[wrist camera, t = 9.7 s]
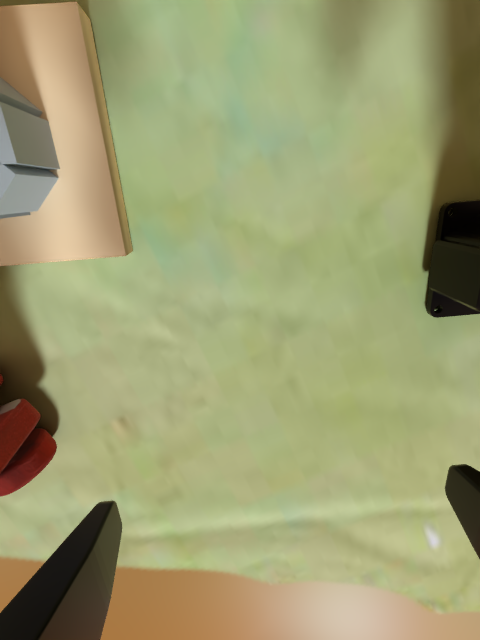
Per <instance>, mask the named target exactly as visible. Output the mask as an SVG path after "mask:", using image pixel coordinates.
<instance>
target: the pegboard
mask: <svg viewBox="0 0 480 640" xmlns="http://www.w3.org/2000/svg"><path fill="white" fill-rule="evenodd" d="M0 77H1V78H2V79H4V80H5V81H6V82H7V83H8V84H10V85H11V86H12V87H13V88H14V89H16V90H17V91H18V92H19V93H20V94H22V95H23V96H24V97H25V98H26V99H28V100H29V101H30V102H31V103H32V104H34V105H35V106H36V107H37V108H38V109H40V110H41V111H42V114H41V116H40V117H39V118H42V119H44V120H46V121H48V122H49V126H50V130H51V134H52V138H53V142H54V146H55V150H56V155H57V159H58V163H59V167H60V169H55V170H49V171H51V172H52V173H53V174H55V175H56V176H57V177H58V178H59V179H58V180H57V182H56V183H55V185H54V186H53V188H52V189H51V191H50V193H49V194H48V196H47V197H46V199H45V200H44V202H43V203H42V205H41V207H40V208H39V210H38V211H33V212H30V214H31V215H26V216H18V217H10V218H2V219H0V266H7V265H20V264H32V263H44V262H57V261H69V260H81V259H94V258H106V257H118V256H126V255H128V254H129V253H131V252H132V251H133V248H132V243H131V237H130V232H129V227H128V221H127V216H126V210H125V205H124V200H123V194H122V189H121V183H120V178H119V172H118V167H117V162H116V156H115V151H114V145H113V140H112V135H111V129H110V124H109V118H108V113H107V108H106V102H105V97H104V91H103V86H102V80H101V75H100V70H99V64H98V59H97V53H96V48H95V43H94V37H93V32H92V26H91V21H90V19H89V18H88V16H87V15H86V13H85V12H84V11H83V9H82V8H81V7H80V5H79V4H78V3H77V2H64V3H47V4H30V5H13V6H0Z"/></svg>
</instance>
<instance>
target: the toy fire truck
mask: <svg viewBox="0 0 480 640" xmlns="http://www.w3.org/2000/svg"><path fill="white" fill-rule="evenodd" d="M2 382H3V377H2V375H1V374H0V385H1V384H2ZM40 417H41V415H40V413H39V412H38V411H37V410H36V409H35V408H34V407H33V406H32V405H31V404H30V403H29V402H28V401H27V400H26V399H17V400H14V401H12V402H10V403H7V404H5V405H3V406H0V496H4V495H8V494H10V493H12V492H15V491H16V490H18V489H20V488H21V487H23V486H24V485H26V484H27V483H29V482H30V481H31V480H32V479H33V478H34V477H36V476H37V475H38V474H39V473H40V472H41V471H42V470H43V469H44V468H45V467H46V466H47V465H48V463H49V462H50V461H51V460H52V458H53V456H54V455H55V452H56V449H57V445H56V442H55V440H54V439H53V438H52V437H51V435H50V434H49V433H48V432H47V431H46V430H45V429H42V428H38V429H34V428H35V426H36V424H37V423H38V421H39V420H40Z"/></svg>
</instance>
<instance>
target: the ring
mask: <svg viewBox="0 0 480 640" xmlns="http://www.w3.org/2000/svg"><path fill="white" fill-rule="evenodd" d="M41 114H42V111H41V110H40V109H38V108H37V107H36V106H35V105H34V104H32V103H31V102H30V101H29V100H28V99H26V98H25V97H24V96H23V95H22V94H20V93H19V92H18V91H17V90H16V89H14V88H13V87H12V86H11V85H10V84H8V83H7V82H6V81H5V80H4V79H2V78H1V77H0V219H2V218H10V217H18V216H26V215H31V214H30V212H33V211H38V210H39V208H40V207H41V205H42V203H43V202H44V200H45V199H46V197H47V196H48V194H49V193H50V191H51V189H52V188H53V186H54V185H55V183H56V182H57V180H58V179H59V178H58V177H57V176H56V175H55V174H53V173H52V172H51V171H49V170H55V169H60V167H59V163H58V159H57V155H56V150H55V146H54V142H53V138H52V134H51V130H50V126H49V122H48V121H46V120H44V119H42V118H39V117H40V116H41Z"/></svg>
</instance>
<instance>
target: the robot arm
mask: <svg viewBox="0 0 480 640" xmlns="http://www.w3.org/2000/svg"><path fill="white" fill-rule="evenodd" d="M451 208H452V209H453V213H452V215H451V216H449V210H450V209H451ZM428 287H429V292H428V300H427V307H426V310H427V313H428V314H430V315H431V316H433V317H448V316H459V315H470V314H480V200H472V201H459V202H449V203H446V204H445V205H443V206H442V208H441V209H440V212H439V219H438V227H437V234H436V241H435V244H434V245H433V252H432V259H431V267H430V274H429V282H428ZM437 306H439V307H438V309H437V310H436V311H434V309H435V307H437ZM445 492H446V495H447V498H448V500H449V502H450V504H451V506H452V508H453V510H454V511H455V513H456V515H457V517H458V519H459V521H460V523H461V525H462V527H463V529H464V531H465V533H466V535H467V536H468V538H469V540H470V542H471V544H472V546H473V548H474V550H475V552H476V553H477V555H478V557H479V559H480V472H479V471H478V470H476V469H474V468H472V467H471V466H469V465H466V464H461V465H452V466H451V467H450V468H449V470H448V475H447V480H446V485H445ZM121 534H122V522H121V518H120V514H119V511H118V507H117V504H116V502H115V501H104V502H99V503H98V504H97V505H96V506H95V507H94V508H93V509H92V510H91V511H90V513H89V514H88V515H87V516H86V517H85V518H84V519H83V520H82V522H81V523H80V524H79V525H78V526H77V527H76V528H75V529H74V531H73V532H72V533H71V534H70V535H69V536H68V537H67V538H66V540H65V541H64V542H63V543H62V544H61V545H60V546H59V547H58V549H57V550H56V551H55V552H54V553H53V554H52V555H51V556H50V558H49V559H48V560H47V561H46V562H45V563H44V564H43V565H42V567H41V568H40V569H39V570H38V571H37V572H36V573H35V575H34V576H33V577H32V578H31V579H30V580H29V581H28V582H27V584H26V585H25V586H24V587H23V588H22V589H21V590H20V591H19V593H18V594H17V595H16V596H15V597H14V598H13V599H12V600H11V602H10V603H9V604H8V605H7V606H6V607H5V608H4V609H3V611H2V612H1V613H0V640H100V638H101V635H102V631H103V627H104V623H105V619H106V616H107V611H108V607H109V603H110V599H111V594H112V587H113V582H114V576H115V570H116V564H117V558H118V552H119V546H120V540H121Z"/></svg>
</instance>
